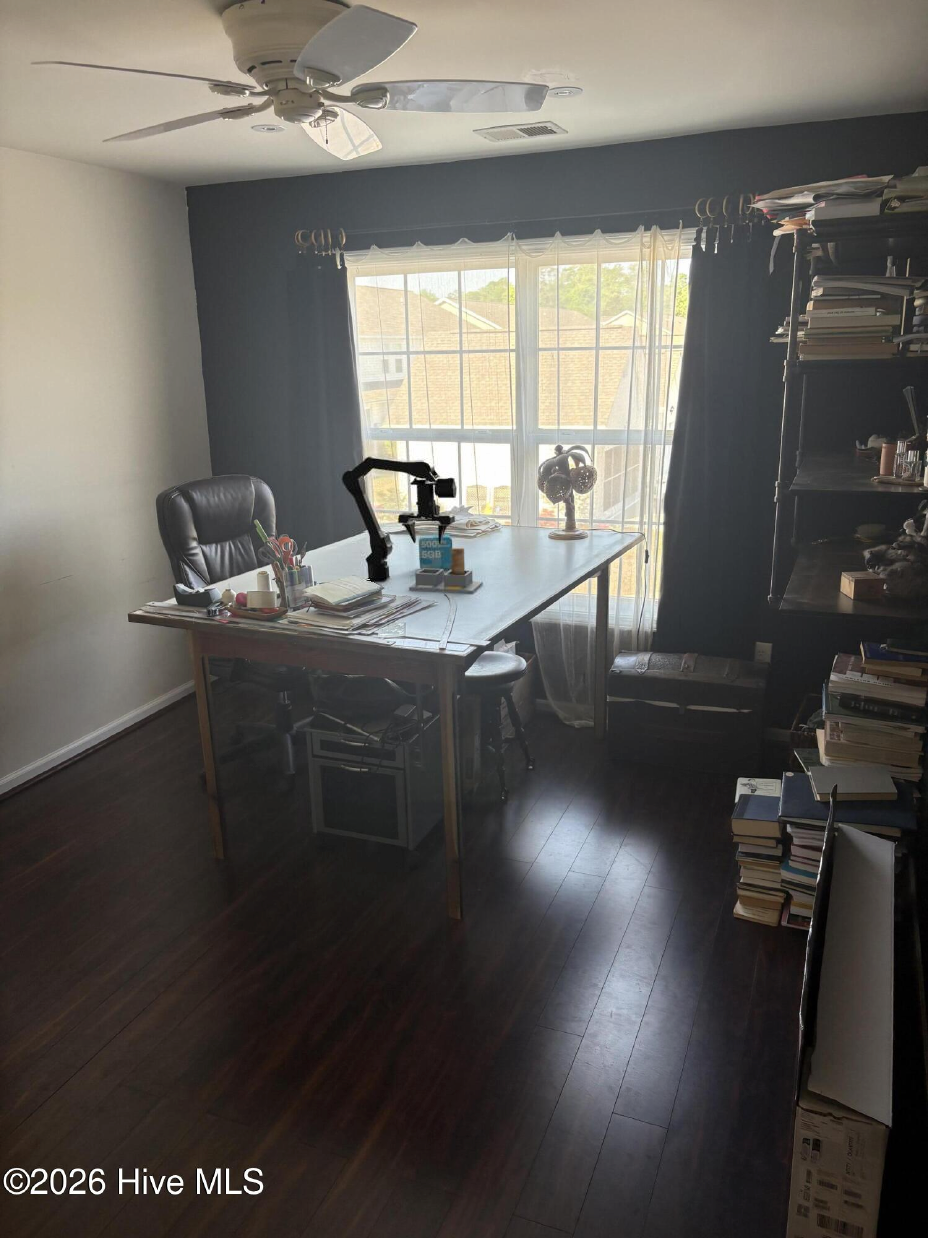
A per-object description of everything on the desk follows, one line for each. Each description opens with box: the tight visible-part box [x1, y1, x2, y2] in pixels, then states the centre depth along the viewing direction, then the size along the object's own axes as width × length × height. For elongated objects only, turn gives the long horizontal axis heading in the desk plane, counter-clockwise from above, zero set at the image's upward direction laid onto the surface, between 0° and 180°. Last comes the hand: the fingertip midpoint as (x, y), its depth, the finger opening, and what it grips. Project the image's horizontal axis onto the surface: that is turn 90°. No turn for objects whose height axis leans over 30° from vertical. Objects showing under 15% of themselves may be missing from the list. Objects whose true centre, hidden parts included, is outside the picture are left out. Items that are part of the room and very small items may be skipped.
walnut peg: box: [450, 547, 466, 575], centre depth 297 cm, size 4×4×12 cm
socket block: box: [408, 568, 484, 595], centre depth 298 cm, size 22×12×5 cm, turn 73°
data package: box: [418, 534, 453, 570], centre depth 324 cm, size 12×4×12 cm, turn 94°
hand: (427, 543), depth 305 cm, fingers open, 9 cm apart
